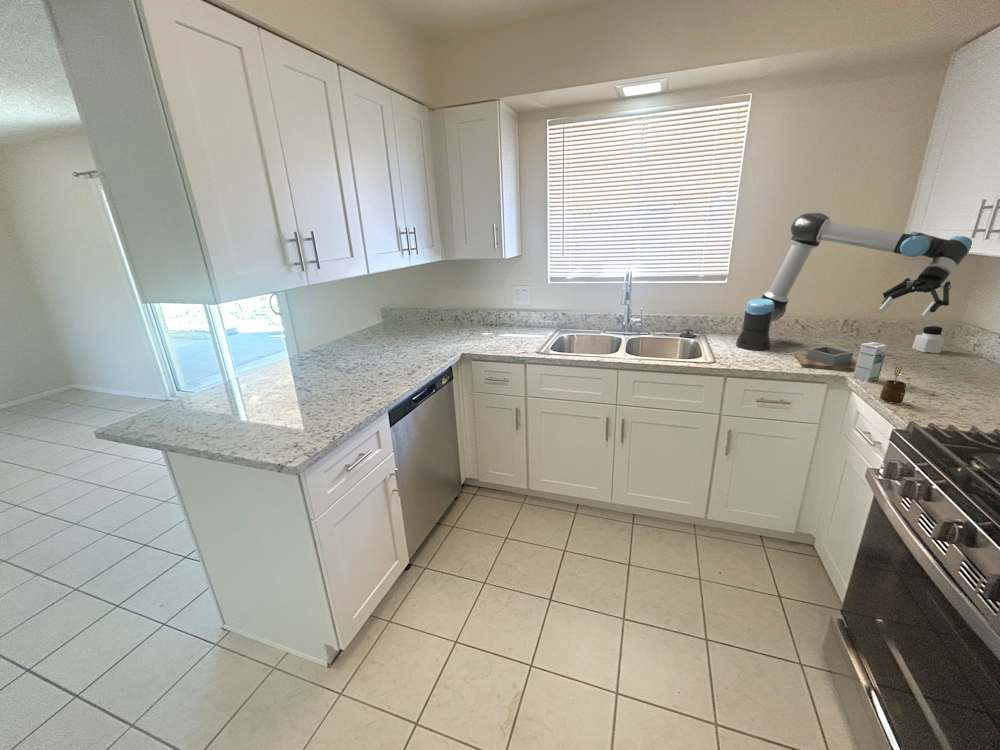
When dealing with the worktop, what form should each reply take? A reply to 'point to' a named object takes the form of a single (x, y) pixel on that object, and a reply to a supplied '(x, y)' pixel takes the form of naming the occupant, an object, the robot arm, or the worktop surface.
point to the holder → (829, 355)
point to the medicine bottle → (929, 340)
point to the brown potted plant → (894, 389)
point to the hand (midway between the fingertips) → (901, 314)
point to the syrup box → (870, 361)
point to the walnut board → (814, 364)
